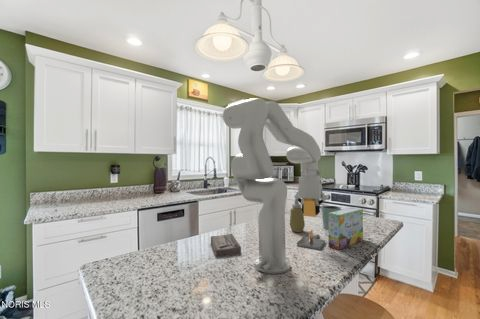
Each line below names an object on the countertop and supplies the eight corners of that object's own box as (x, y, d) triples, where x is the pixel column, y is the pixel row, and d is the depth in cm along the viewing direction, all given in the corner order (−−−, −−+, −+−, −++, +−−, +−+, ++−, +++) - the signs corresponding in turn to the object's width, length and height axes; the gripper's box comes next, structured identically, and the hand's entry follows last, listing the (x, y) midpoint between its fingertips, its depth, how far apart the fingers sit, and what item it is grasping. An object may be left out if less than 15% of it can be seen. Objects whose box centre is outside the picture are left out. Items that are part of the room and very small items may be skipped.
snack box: (340, 250, 95) (339, 214, 96) (328, 247, 100) (327, 212, 100) (364, 240, 108) (363, 208, 108) (352, 237, 113) (351, 206, 113)
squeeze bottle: (306, 233, 120) (305, 198, 121) (291, 233, 120) (290, 199, 121) (302, 228, 128) (302, 196, 129) (288, 229, 128) (287, 196, 129)
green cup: (322, 230, 125) (321, 208, 125) (321, 225, 134) (320, 205, 135) (342, 231, 122) (341, 209, 122) (340, 226, 131) (339, 205, 132)
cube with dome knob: (317, 214, 105) (317, 196, 105) (315, 216, 101) (314, 198, 101) (307, 213, 108) (306, 196, 108) (303, 215, 103) (303, 197, 103)
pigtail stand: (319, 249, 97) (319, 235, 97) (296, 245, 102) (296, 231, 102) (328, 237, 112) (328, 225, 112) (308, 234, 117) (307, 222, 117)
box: (232, 239, 111) (231, 233, 111) (241, 253, 94) (241, 246, 94) (210, 242, 108) (209, 236, 108) (215, 257, 92) (215, 250, 92)
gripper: (330, 173, 103) (332, 213, 103) (294, 173, 112) (295, 210, 112) (327, 174, 97) (328, 217, 96) (288, 174, 106) (290, 213, 105)
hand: (310, 213), depth 104 cm, fingers closed on cube with dome knob, 4 cm apart
